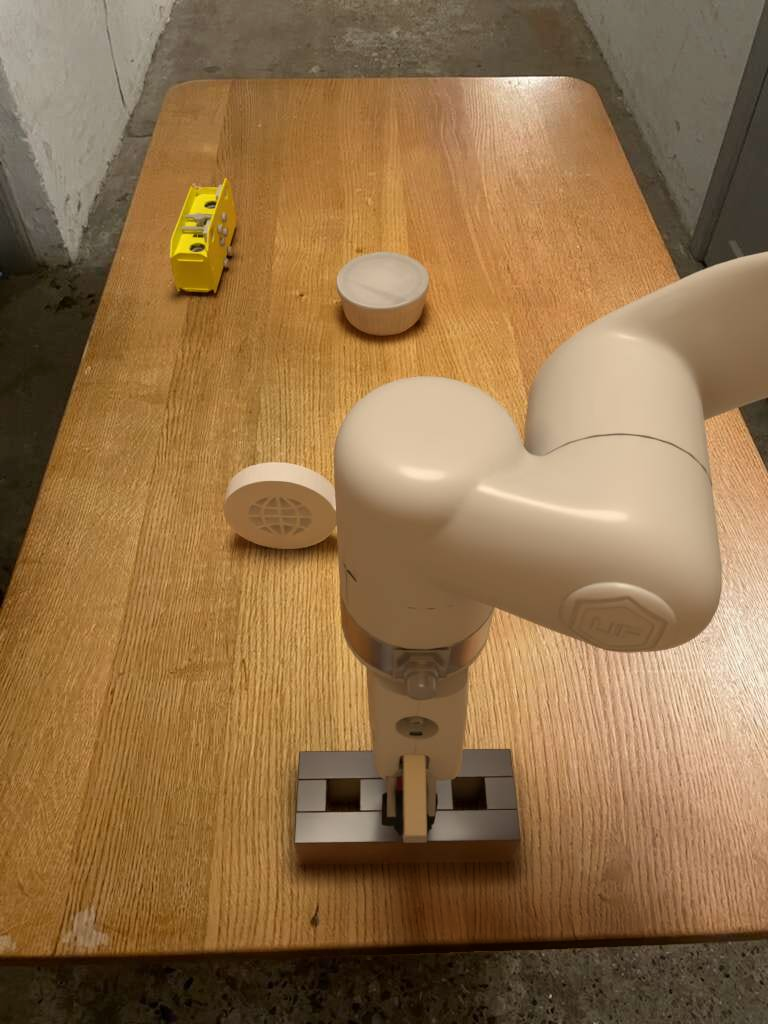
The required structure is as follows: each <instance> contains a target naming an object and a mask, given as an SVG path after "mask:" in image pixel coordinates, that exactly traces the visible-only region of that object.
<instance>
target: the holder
mask: <svg viewBox="0 0 768 1024" xmlns="http://www.w3.org/2000/svg"><path fill="white" fill-rule="evenodd" d="M512 759H513V758H512V750H511V749H510V748H465V749H464V748H463V754H462V763H461V770H460V772H459V774H458V775H457V777H456V778H454V779H452V780H441V781H439V780H437V779H436V794H438V805H437V810H436V816H435V822H434V824H433V825H432V829H429V832H428V835H427V843H404V842H403V835H398V833H397V831H396V830H395V829H394V826H384V825H382V794H384V793H385V792H387V776H386V780H384V779H383V778H382V777H381V776H379V774H378V773H377V772H376V770H375V762H374V753H373V749H371V750H370V749H369V750H304V751H303V750H302V751H300V750H299V751H298V761H297V762H298V763H297V766H298V767H297V781H296V798H295V799H296V800H295V802H296V803H295V821H294V836H293V837H294V838H293V844H294V848H295V852H296V856H297V859H298V864H299V865H303V866H306V865H369V864H370V865H372V864H373V865H374V864H375V865H377V864H379V865H380V864H441V863H442V864H448V863H451V864H453V863H504V862H505V863H512V862H513V861H514V858H515V856H516V853H517V851H518V848H519V846H520V844H521V841H522V837H521V827H520V818H519V811H518V802H517V791H516V784H515V777H514V768H513V767H514V766H513V760H512ZM454 802H477V803H478V809H455V806H454ZM349 803H350V804H353V803H355V804H356V803H359V811H331V804H349Z"/></svg>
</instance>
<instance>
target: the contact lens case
mask: <svg viewBox="0 0 768 1024" xmlns="http://www.w3.org/2000/svg"><path fill="white" fill-rule="evenodd" d="M223 503H224V504H223V515H224V520H225V521H226V523H227V525H228V526H229V527H230V528H231V529H232V530H233V532H235V533H236V534H237V535H239V536H240V537H241V538H243V539H245V540H247V541H249V542H251V543H252V544H253V543H254V544H256V545H260V546H262V547H265V548H270V549H271V548H272V549H278V550H296V549H303V548H304V549H305V548H308V547H312V546H315V545H317V544H319V543H321V542H323V541H325V540H327V538H328V537H330V536H331V534H333V532H334V531H335V529H336V528H337V523H336V502H335V486H333V484H332V483H331V482H330V481H329V480H328V479H327V478H325V477H324V475H321V473H318V472H317V471H315V470H313V469H310V468H309V467H305V466H302V465H300V464H296V463H292V462H291V463H290V462H281V461H276V462H275V461H268V462H262V463H261V462H260V463H256V464H253V465H250V466H247V467H245V468H244V469H241V470H240V471H239V472H237V473H236V474H235V475H234V476H232V478H231V479H230V480H229V483H228V485H227V489H226V493H225V499H224V502H223Z"/></svg>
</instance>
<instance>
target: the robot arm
mask: <svg viewBox="0 0 768 1024" xmlns="http://www.w3.org/2000/svg"><path fill="white" fill-rule="evenodd" d="M765 399H768V251H764V252H758V253H753V254H750V255H745V256H740V257H737V258H734V259H730V260H728V261H727V260H726V261H725V262H720V263H717V264H714V265H711V266H709V267H706V268H704V269H701V270H698V271H696V272H693V273H691V274H690V275H687V276H685V277H683V278H680V279H678V280H676V281H674V282H672V283H670V284H666V285H665V286H662V287H661V288H659V289H657V290H656V289H655V290H654V291H653V292H650V293H647V294H646V295H644V296H641V297H640V298H637V299H635V300H633V301H631V302H629V303H627V304H625V305H623V306H621V307H619V308H618V309H615V310H613V311H611V312H609V313H607V314H605V315H603V316H601V317H599V318H598V319H596V320H593V321H592V322H590V323H589V324H587V325H585V326H584V327H582V328H581V329H580V330H578V331H577V332H575V333H574V334H572V336H570V337H568V338H567V339H566V340H565V341H563V342H561V344H560V345H558V346H557V348H555V350H554V351H553V352H552V353H551V354H550V355H549V357H547V358H546V360H544V362H543V363H542V365H541V366H540V367H539V370H538V371H537V373H536V375H535V377H534V379H533V381H532V384H531V387H530V390H529V394H528V398H527V406H526V413H525V422H524V423H525V424H524V433H523V440H522V437H521V434H520V431H519V429H518V427H517V425H516V422H515V420H514V419H513V417H512V416H511V415H510V413H509V412H508V411H507V409H506V408H505V407H504V406H503V405H502V404H501V403H500V402H499V401H498V400H497V399H495V398H494V397H493V396H492V395H490V394H489V393H487V392H486V391H484V390H483V389H481V388H478V387H477V386H474V385H472V384H470V383H467V382H465V381H461V380H458V379H455V378H450V377H445V376H436V375H435V376H433V375H421V376H420V375H419V376H417V375H416V376H410V377H403V378H399V379H396V380H393V381H389V382H386V383H384V384H381V385H379V386H378V387H375V388H374V389H372V390H371V391H369V392H368V393H366V394H365V395H364V396H363V397H361V398H360V399H359V400H358V401H357V402H355V403H354V405H353V406H352V407H351V408H350V410H348V412H347V413H346V415H345V418H344V419H343V421H342V422H341V424H340V426H339V428H338V431H337V435H336V437H335V443H334V449H333V478H334V479H333V481H334V488H335V502H336V523H337V526H336V536H337V537H336V539H337V540H336V541H337V542H336V543H337V557H338V558H337V560H338V561H337V562H338V579H339V600H340V601H339V602H340V603H339V604H340V605H339V606H340V623H341V629H342V635H343V638H344V640H345V642H346V644H347V645H346V646H347V647H348V648H349V650H350V651H351V653H352V654H353V656H354V658H356V659H357V660H358V662H359V663H360V664H361V665H362V666H364V667H365V668H366V686H367V687H366V690H367V702H368V715H369V725H370V734H371V735H370V736H371V744H372V750H373V753H374V762H375V770H376V772H377V773H378V774H379V776H381V777H382V778H383V779H384V780H386V776H387V792H385V793H384V794H382V825H384V826H394V829H395V830H396V831H397V833H398V835H403V842H404V843H427V835H428V832H429V829H432V825H433V824H434V822H435V816H436V810H437V805H438V794H436V779H437V780H439V781H441V780H452V779H454V778H456V777H457V775H458V774H459V772H460V770H461V763H462V754H463V749H464V746H465V745H464V744H465V736H466V729H467V728H466V726H467V717H468V705H469V704H468V703H469V684H470V679H469V678H470V666H472V665H473V664H475V662H476V661H477V660H478V658H479V657H480V656H481V654H482V652H483V651H484V649H485V648H486V644H487V642H488V639H489V635H490V632H491V625H492V621H493V617H494V611H495V609H498V610H500V611H503V612H505V613H507V614H510V615H512V616H515V617H517V618H520V619H522V620H524V621H527V622H530V623H532V624H534V625H537V626H539V627H542V628H545V629H547V630H549V631H552V632H555V633H558V634H561V635H563V636H566V637H569V638H572V639H575V640H577V641H579V642H583V643H586V644H587V645H590V646H591V647H595V648H597V649H601V650H604V651H608V652H614V653H625V654H627V653H628V654H633V653H651V652H661V651H667V650H670V649H674V648H678V647H680V646H683V645H685V644H687V643H689V642H690V641H692V640H695V638H697V637H698V636H700V634H701V633H703V631H705V630H706V629H707V628H708V626H709V625H710V624H711V622H712V620H713V619H714V616H715V614H716V613H717V610H718V609H719V605H720V600H721V595H722V589H723V587H722V586H723V581H722V580H723V578H722V577H723V566H722V557H721V549H720V541H719V532H718V525H717V524H718V523H717V515H716V509H715V501H714V500H715V499H714V493H713V479H712V471H711V463H710V455H709V447H708V440H707V432H706V423H705V422H706V421H707V420H710V419H712V418H714V417H718V416H721V415H723V414H725V413H728V412H731V411H733V410H736V409H739V408H741V407H744V406H747V405H749V404H753V403H755V402H758V401H761V400H765ZM401 756H402V759H400V757H401ZM396 778H403V790H396Z"/></svg>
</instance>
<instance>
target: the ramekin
mask: <svg viewBox="0 0 768 1024" xmlns="http://www.w3.org/2000/svg"><path fill="white" fill-rule="evenodd" d="M335 286H336V287H335V288H336V292H337V295H338V297H339V299H340V302H341V307H342V309H343V313H344V316H345V318H346V320H347V321H348V322H349V324H350V325H351V326H353V327H354V328H355V329H357V330H358V331H360V332H362V333H363V334H368V335H372V336H377V337H378V336H379V337H386V336H387V337H388V336H394V335H398V334H401V333H403V332H406V331H407V330H409V329H411V327H413V326H414V325H415V324H416V323H417V322H418V321H419V319H420V317H421V315H422V313H423V309H424V305H425V300H426V296H427V294H428V292H429V288H430V276H429V272H428V271H427V269H426V267H425V266H424V265H423V264H422V263H420V261H418V260H416V259H414V258H413V257H410V256H409V255H405V254H403V253H397V252H392V251H376V252H375V251H374V252H371V253H365V254H362V255H358V256H357V257H354V258H353V259H351V260H350V261H348V262H347V263H345V264H344V265H343V266H342V267H341V268H340V270H339V271H338V272H337V275H336V279H335Z"/></svg>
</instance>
